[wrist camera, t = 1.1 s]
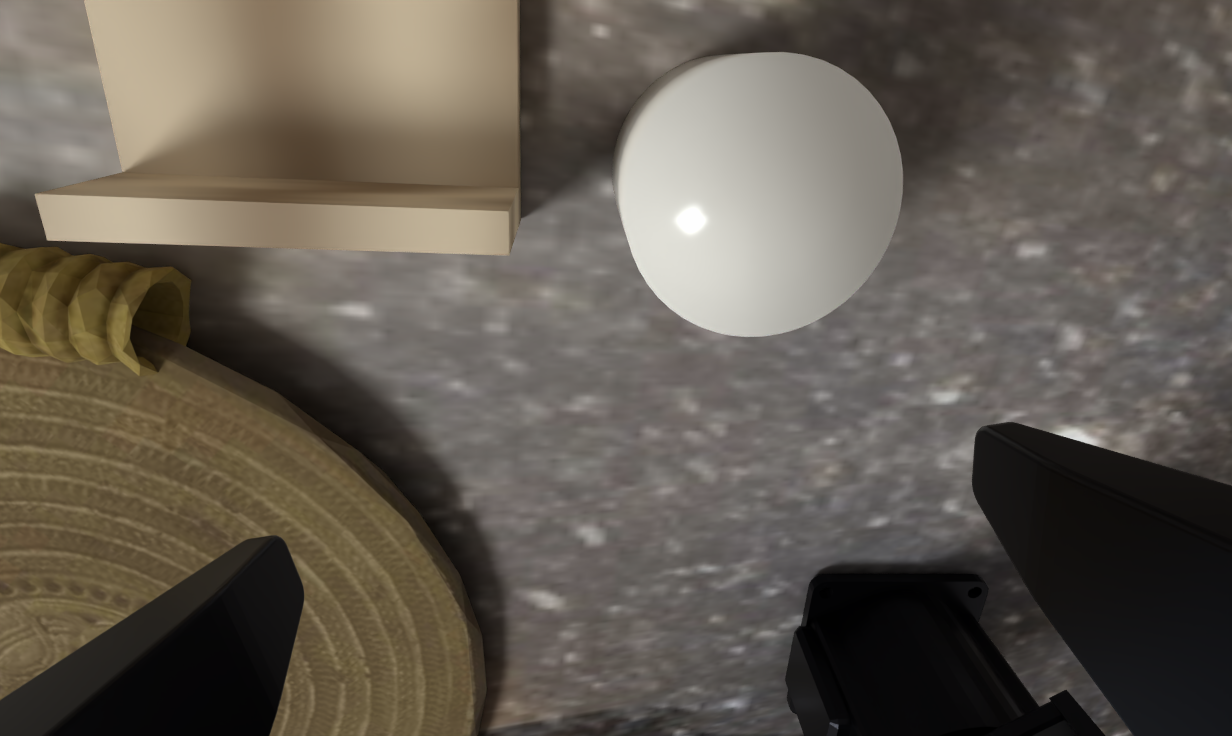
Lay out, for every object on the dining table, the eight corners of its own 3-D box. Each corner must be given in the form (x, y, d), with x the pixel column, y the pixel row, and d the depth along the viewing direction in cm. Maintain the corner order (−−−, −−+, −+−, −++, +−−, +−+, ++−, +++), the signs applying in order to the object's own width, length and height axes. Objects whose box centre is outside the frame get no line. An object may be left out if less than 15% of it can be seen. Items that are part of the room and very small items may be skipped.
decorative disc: (-268, 943, 28) (-860, 177, 15) (-186, 853, 31) (-618, 150, 18) (466, 950, 31) (510, 316, 18) (476, 867, 34) (520, 273, 21)
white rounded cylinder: (843, 60, 19) (931, 60, 14) (807, 279, 21) (873, 340, 16) (617, 48, 18) (632, 43, 14) (607, 273, 21) (617, 333, 16)
